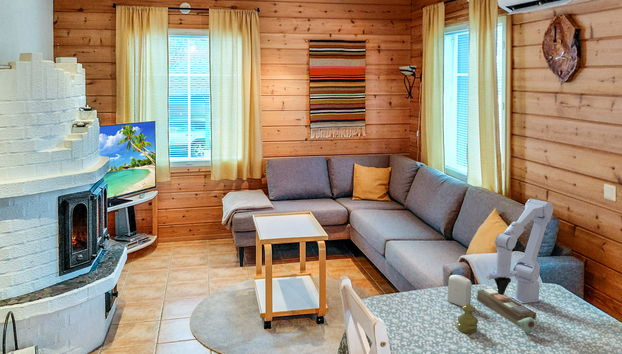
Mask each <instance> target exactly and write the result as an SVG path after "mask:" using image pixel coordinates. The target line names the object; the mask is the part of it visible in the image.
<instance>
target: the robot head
mask: <svg viewBox="0 0 622 354" xmlns="http://www.w3.org/2000/svg"><path fill="white" fill-rule="evenodd" d="M517 322H518V323H519V325H520V326H519V327H520V328H522V331H523V332H524V334H527V335H529V334H532V332H533V331H534V330H535V328H536V327H537V326H538V325H539V320H537V319H536V320H534V319H532V318H530V317H528V318H525V319H522V320H519V321H517Z"/></svg>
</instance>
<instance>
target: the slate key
mask: <svg viewBox="0 0 622 354" xmlns="http://www.w3.org/2000/svg"><path fill="white" fill-rule="evenodd" d="M523 306H524V305H523ZM523 306H518V307H513V310H515V311H516V312H518V313H520V314H522V313H529V312H530V310H531V309H530V310H528V309H529V308H528V307H526V306H525V307H526V308H525V307H523ZM527 308H528V309H527Z"/></svg>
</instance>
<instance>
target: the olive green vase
mask: <svg viewBox="0 0 622 354" xmlns="http://www.w3.org/2000/svg"><path fill="white" fill-rule="evenodd" d="M461 309H462V310H463V311H464V313H462V314H461V315H459V316H458V317H457V327H456V328H457V330H458V331H459V332H460V333H461V332H462V333H464V334H475V333H477V332H478V326H479V325H478V322H479V320H478V318H477V317H476V316H475V315H474V314H473V312H475V311H476V307H475V306H473V305H472V304H471V303H470V304H467V305H464V306H461Z"/></svg>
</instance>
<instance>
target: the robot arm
mask: <svg viewBox="0 0 622 354" xmlns="http://www.w3.org/2000/svg"><path fill="white" fill-rule="evenodd" d="M553 213H554V206H553V203H552V202H550V201H544V200H539V199H535V198H529V199H528V200H527V201H526V202H525V205H524V210H523V212H522V213H521V215H520V216H519V217H518V219H517V220H516V221H512V222H511V223H510V225H508V226H507V228H506V229H505V230H504V232H503V233H499V234H497V235H496V237H495V240H494V245H495V250H496V263H495V271H492V272H488V273H486V277H485V278H486V279H487V280H492V279H493V280H494V282H495V284H496V288H497V289H496V290H497V291H498V294H500V295H505V292H506V290H507V288H508V286H509V284H510V283H511V281H512V278H513V277H514V279H515V280H516V281H515V292H514V294H513V295H510V297H509V298H511V299H512V300H514V301H516V302H518V303H519V304H530V303H536V302H540V301H541V300H540V299H539V298H540V287H541V286H540V283H539V281H538V280H539V277H540V271H541V265H540V264H539V262H538V261H537V257H538V254H539V251H540V248H541V244H542V241H543V238H544V235H545V232H546V229H547V225H548V223H550V222H551V220H552V215H553ZM531 220H532V221H533V224H532V227H531V231H530V235H529V238H528V241H527V244H526V248H525V250H524V254H523V256H521V257H519V258H517V260H516V262H515V264H514V265H513V266H512V267H511V265H512V255H513V249H515V247H516V244H517V242H518V239H519V237H520V236H521V235H522V234H523V233H524V230H525V228H524V227H526V226H527V224H529V222H530V221H531ZM511 268H512V270H511ZM511 277H512V278H511Z"/></svg>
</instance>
